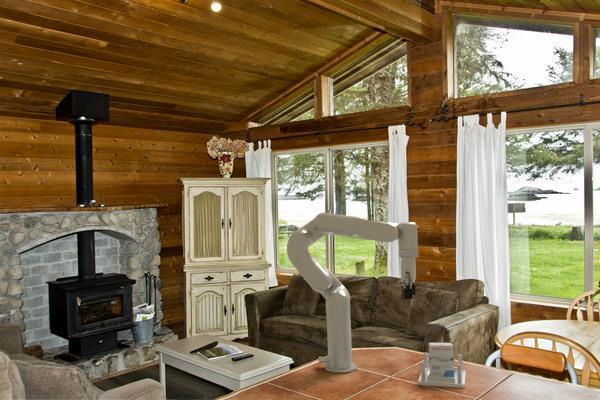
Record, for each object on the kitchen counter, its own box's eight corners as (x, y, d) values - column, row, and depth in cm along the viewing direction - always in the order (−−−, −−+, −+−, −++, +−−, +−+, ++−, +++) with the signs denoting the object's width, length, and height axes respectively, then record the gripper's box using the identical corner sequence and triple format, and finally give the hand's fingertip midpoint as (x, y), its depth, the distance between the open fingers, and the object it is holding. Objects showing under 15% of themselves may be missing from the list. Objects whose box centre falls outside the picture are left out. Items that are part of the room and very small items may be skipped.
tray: (418, 384, 189) (417, 363, 190) (422, 371, 205) (421, 351, 205) (464, 388, 184) (463, 366, 185) (465, 373, 200) (464, 353, 200)
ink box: (452, 373, 196) (451, 342, 197) (454, 378, 192) (453, 345, 192) (429, 373, 198) (428, 342, 198) (430, 377, 193) (429, 345, 193)
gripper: (401, 251, 219) (403, 293, 219) (395, 255, 203) (397, 300, 202) (420, 251, 217) (421, 293, 216) (415, 255, 200) (417, 300, 200)
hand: (410, 296), depth 209 cm, fingers open, 9 cm apart
